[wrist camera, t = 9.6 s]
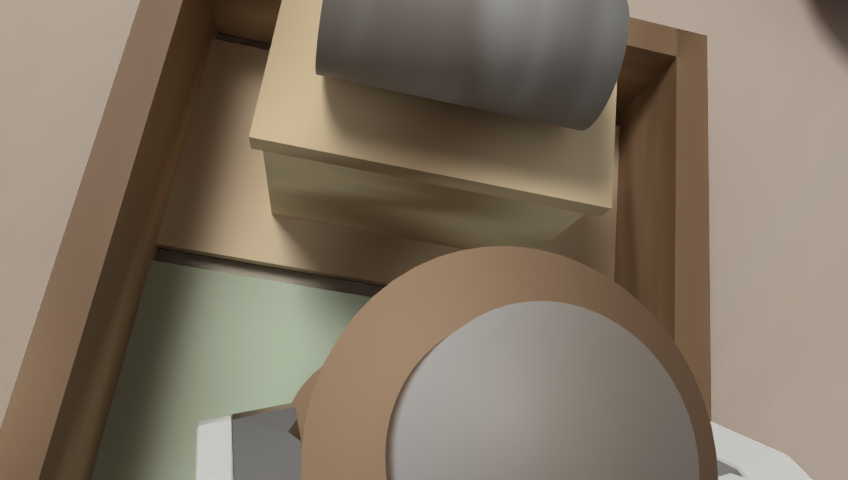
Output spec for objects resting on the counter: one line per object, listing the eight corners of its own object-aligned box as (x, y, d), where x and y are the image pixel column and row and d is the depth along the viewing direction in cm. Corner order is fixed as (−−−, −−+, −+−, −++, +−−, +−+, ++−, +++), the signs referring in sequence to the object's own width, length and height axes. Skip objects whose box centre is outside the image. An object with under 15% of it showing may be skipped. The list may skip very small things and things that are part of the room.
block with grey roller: (263, 218, 19) (234, 60, 11) (298, 64, 21) (295, -172, 13) (531, 267, 20) (683, 156, 12) (543, 117, 22) (684, -70, 14)
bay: (29, 562, 16) (-56, 601, 12) (193, 0, 21) (170, -93, 17) (627, 625, 18) (713, 676, 14) (641, 100, 23) (706, 35, 20)
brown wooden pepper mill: (265, 526, 16) (144, 824, 4) (300, 339, 18) (298, 114, 5) (448, 548, 17) (860, 865, 4) (467, 366, 18) (815, 220, 6)
